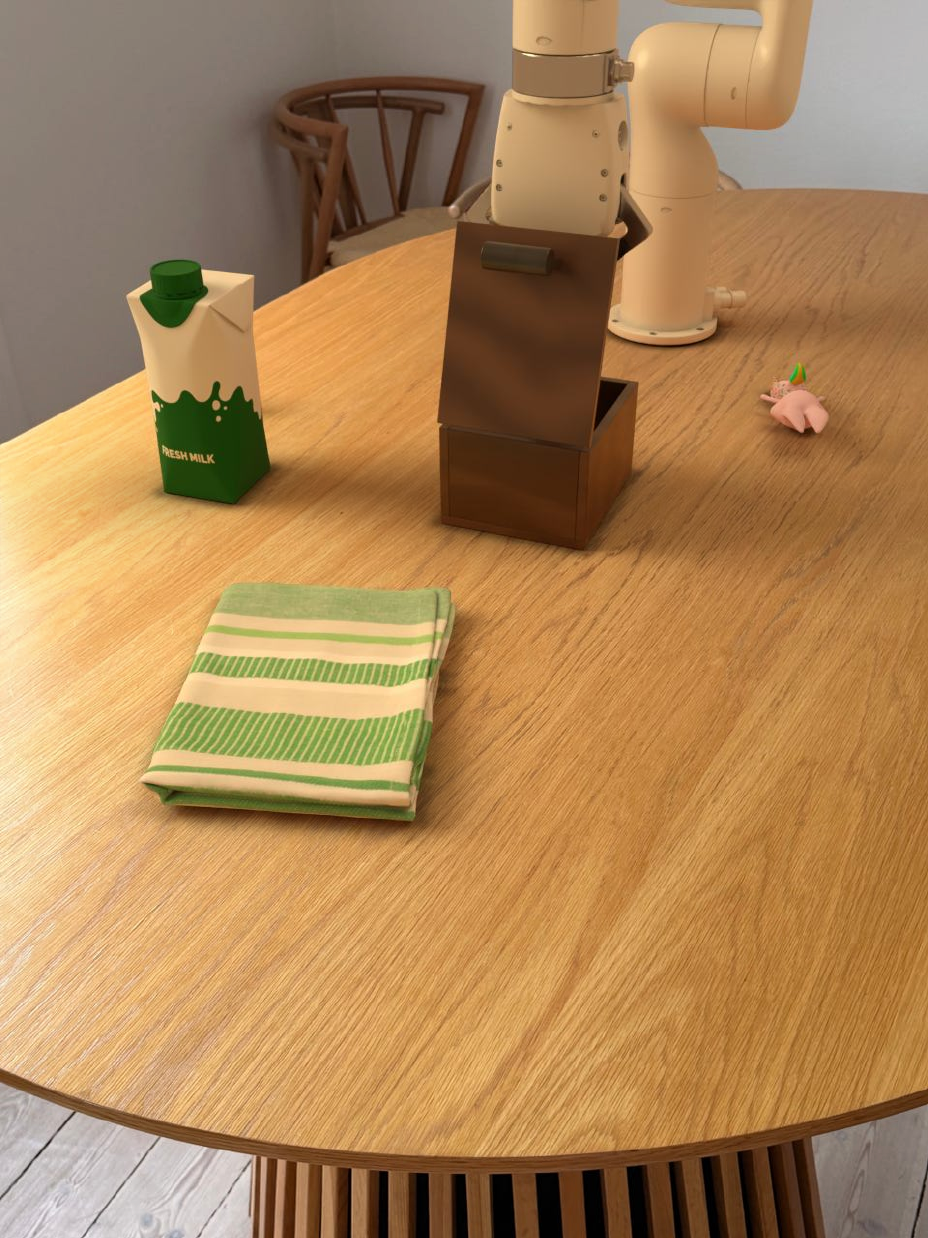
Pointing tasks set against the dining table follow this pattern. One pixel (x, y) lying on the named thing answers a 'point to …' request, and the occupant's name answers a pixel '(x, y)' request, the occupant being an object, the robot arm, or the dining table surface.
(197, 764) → the dish towel
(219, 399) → the milk carton
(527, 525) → the chest
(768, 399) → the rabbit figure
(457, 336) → the lid
